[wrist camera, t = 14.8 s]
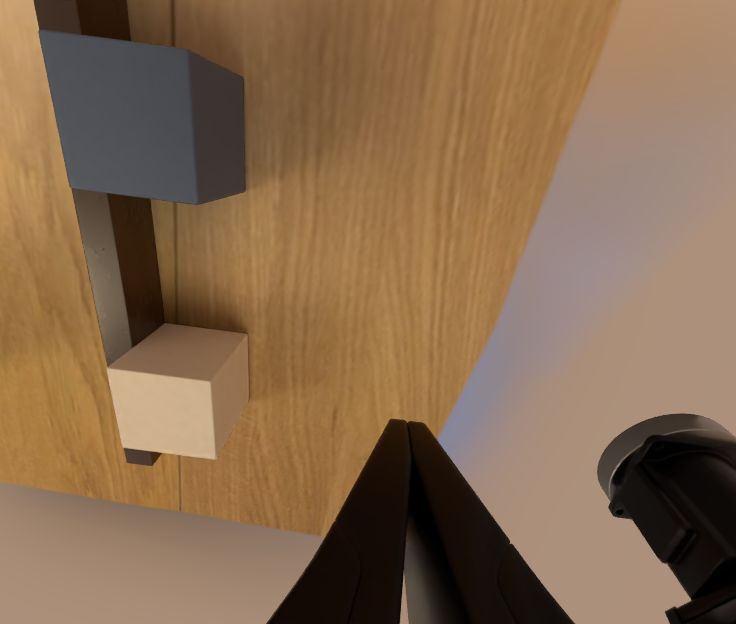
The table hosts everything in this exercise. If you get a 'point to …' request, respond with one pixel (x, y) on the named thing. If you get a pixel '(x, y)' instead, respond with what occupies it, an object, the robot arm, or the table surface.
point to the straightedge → (113, 218)
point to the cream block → (181, 390)
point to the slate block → (145, 118)
